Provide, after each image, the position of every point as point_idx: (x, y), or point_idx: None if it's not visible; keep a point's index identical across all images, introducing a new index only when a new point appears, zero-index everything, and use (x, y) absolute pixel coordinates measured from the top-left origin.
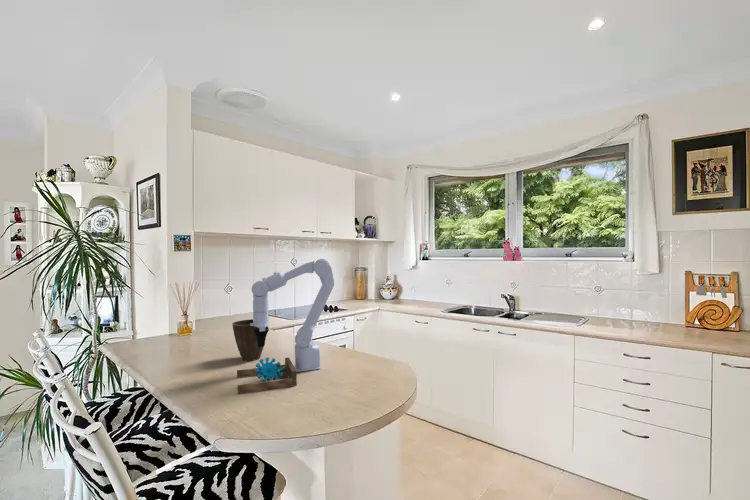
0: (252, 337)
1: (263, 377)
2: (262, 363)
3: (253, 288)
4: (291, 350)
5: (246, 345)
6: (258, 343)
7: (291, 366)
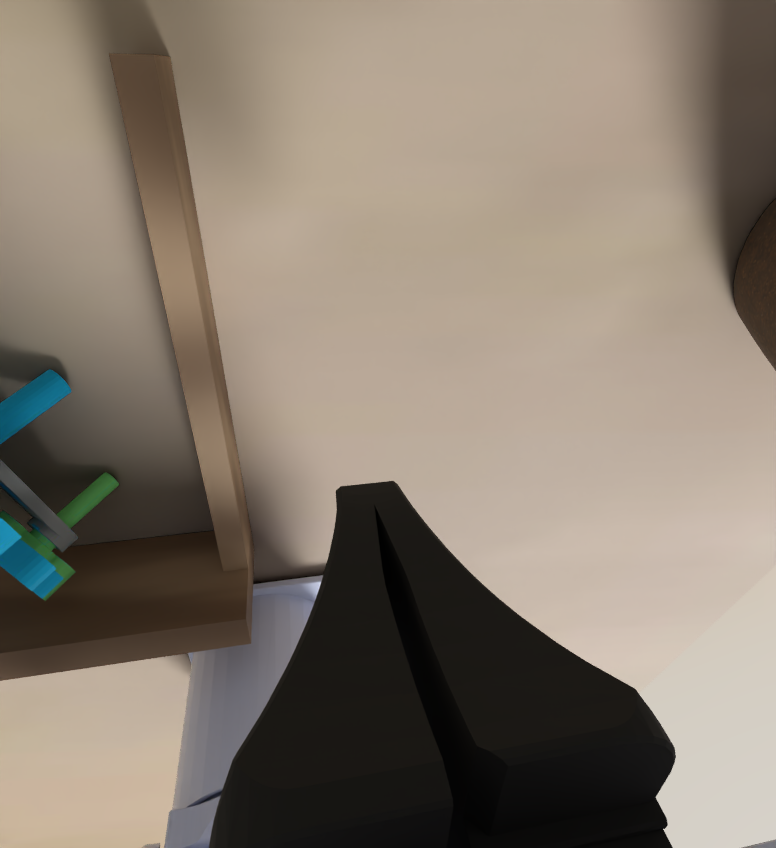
0: None
1: (49, 369)
2: None
3: None
4: (773, 551)
5: None
6: (336, 532)
7: None
